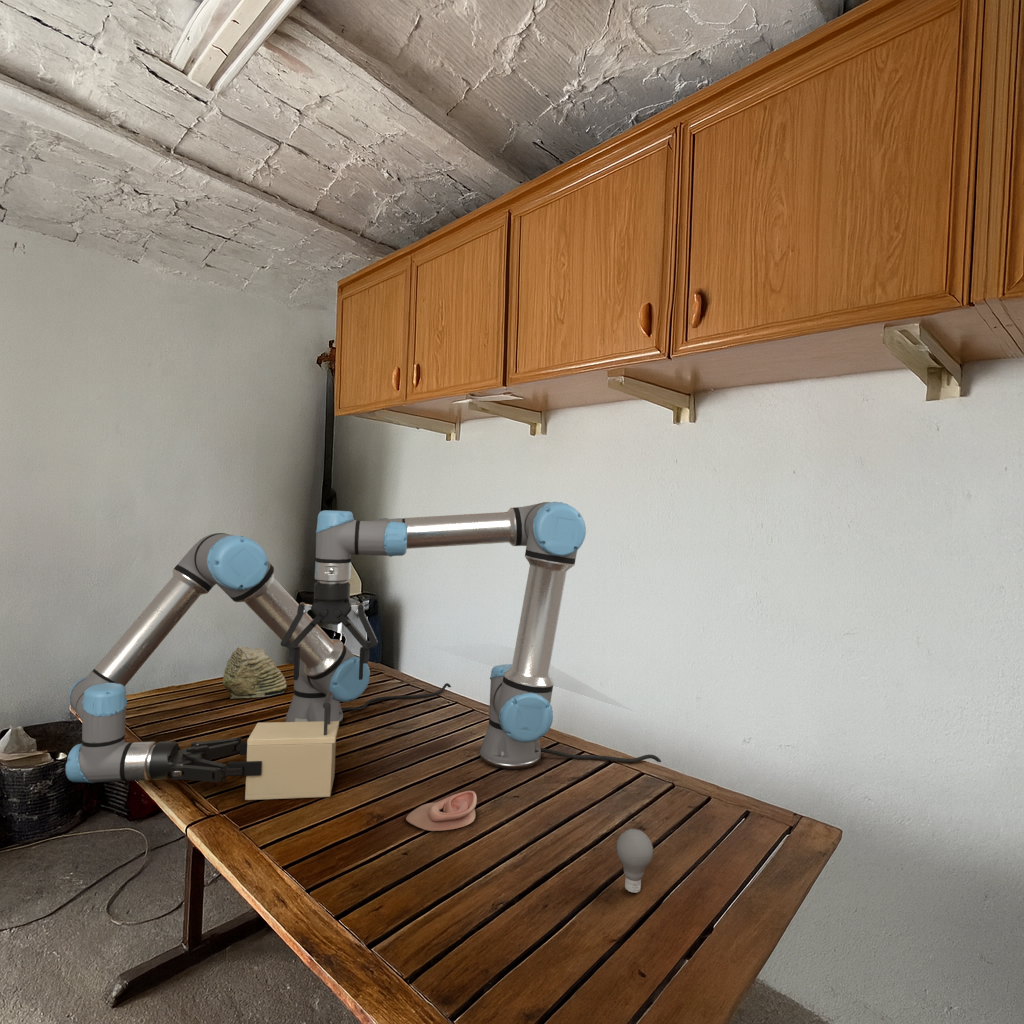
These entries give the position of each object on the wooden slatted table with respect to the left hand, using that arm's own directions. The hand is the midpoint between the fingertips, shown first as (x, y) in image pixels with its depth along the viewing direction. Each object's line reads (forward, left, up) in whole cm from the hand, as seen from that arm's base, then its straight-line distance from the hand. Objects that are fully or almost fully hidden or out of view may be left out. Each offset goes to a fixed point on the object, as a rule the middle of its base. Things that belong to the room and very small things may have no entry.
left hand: (266, 757), depth 136 cm
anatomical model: (-17, +36, -7) cm, 41 cm away
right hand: (-9, +8, +17) cm, 21 cm away
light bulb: (-22, +76, -7) cm, 80 cm away
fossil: (-31, -60, -7) cm, 68 cm away
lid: (-4, +4, +5) cm, 7 cm away
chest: (-4, +4, -7) cm, 9 cm away
